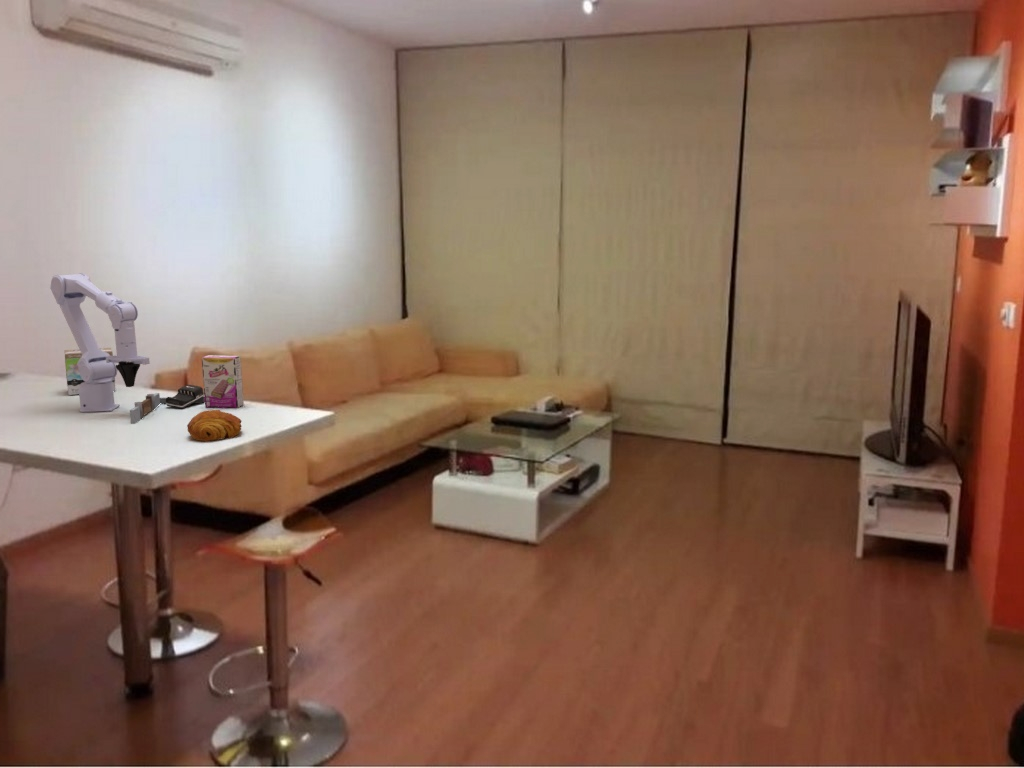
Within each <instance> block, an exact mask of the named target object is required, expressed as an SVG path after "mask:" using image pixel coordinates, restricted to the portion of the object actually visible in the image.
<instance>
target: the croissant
mask: <svg viewBox="0 0 1024 768" xmlns="http://www.w3.org/2000/svg"><path fill="white" fill-rule="evenodd" d="M242 422H243V421H242V420H241V418H240V417H237V416H236V415H234V414H232V413H230V412H225V411H221V410H220V409H214V410H203V411H201V412H199V413H197V414H196V415H194V416H193V417H192V418H191V419H190V420H189V422H188V424H187V425H186V426H187V427H186V428H187V432H188V434H189V435H190V436H191V437H192V438H193V439H194V440H196V441H202V442H210V440H212V441H217V440H218V441H219V440H223V438H224V439H231V438H234V437H236V436H238V435H239V434H240V432H241V430H242V424H241V423H242Z"/></svg>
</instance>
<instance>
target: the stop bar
mask: <svg viewBox="0 0 1024 768" xmlns="http://www.w3.org/2000/svg"><path fill="white" fill-rule="evenodd" d="M166 398H167V397H160V403H166ZM202 402H204V403H205V397H203V398H201V399H200V400H198V401H196V402H194V403H193V404H203V403H202Z"/></svg>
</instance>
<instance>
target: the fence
mask: <svg viewBox="0 0 1024 768" xmlns="http://www.w3.org/2000/svg"><path fill="white" fill-rule="evenodd" d="M146 396H152V407H153V409H152V411H155V410H156V409H157V408H158V407H159V406H158V405H159V404H160V398H161V397H160V393H159V392H155V393H148V394H147V395H146ZM160 405H161V404H160ZM157 406H158V407H157ZM156 407H157V408H156ZM155 408H156V409H155ZM154 409H155V410H154ZM129 418H130V423H131V424H137V423H138V422H139V421H140V419H141V420H143V419H144V416H143V411H142V401H136V402H134V407H132V408H131V409H130V410H129ZM142 418H143V419H142ZM138 420H139V421H138ZM137 421H138V422H137Z"/></svg>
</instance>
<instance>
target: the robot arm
mask: <svg viewBox="0 0 1024 768" xmlns="http://www.w3.org/2000/svg"><path fill="white" fill-rule="evenodd" d="M49 288H50V290H51V293H52V295H53V298H54V299H55V302H56V303H57V304H58V305H59V307H60V310H61V311H62V314H63V316H64V318H65V321H66V323H67V325H68V327H69V329H70V331H71V334H72V336H73V338H74V340H75V342H76V345H77V347H78V349H80V351H81V353H82V357H81V358H80V359H79V361H78V363H77V365H78V367H79V372H80V376H81V378H82V379H83V381H85V382H83V383H81V384H80V387H79V394H78V395H79V405H80V410H79V412H80V413H90V412H91V413H92V412H94V413H95V412H111V411H113V410H115V409H116V408H118V407H120V404H115V392H113V382H112V381H113V380H114V377H115V378H116V377H117V375H118V372H119V374H120V376H121V377H122V380H123V383H124V385H125V387H126V388H132V387H135V384H136V383H135V381H136V378H137V373H138V371H139V369H140V366H141V365H143V366H146V365H149V364H151V363H150V357H148V356H146V357H145V356H141V355H138V348H137V337H136V327H135V325H136V324H135V321H136V320H137V318H138V316H139V314H138V311H139V310H138V308H137V306H136V305H135V304H134V303H133V302H130V301H129V302H126V301H125V302H124V301H123V299H121V298H119V297H117V296H116V295H115V294H113V292H112V291H110V290H109V291H106V290H105V291H102V290H101V289H100V288H98V287H97V286H96V285H95V284H94V283H92V282H91V277H89V276H88V275H86V274H85V273H83V272H81V273H73V274H61V275H60V274H55V275H54V276H52V278H51V281H50V287H49ZM86 298H89V299H90V300H93V301H94V303H95V306H96V308H98V309H100V310H101V311H103V312H104V313H106V314H107V317H108V319H109V321H110V322H111V323H110V324H111V327H112V329H114V340H115V349H116V350H115V351H116V355H113V356H110V355H109V354H108V353H106V352H104V351H102V350H100V349H99V348H100V346H99V344H98V343H97V340H96V339H95V335H94V334H93V332H92V330H91V328H90V326H89V324H88V323H89V322H88V321H87V318H86V317H85V314H84V312H83V310H82V308H81V304H82V303H83V302H84V301H85V299H86Z"/></svg>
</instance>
